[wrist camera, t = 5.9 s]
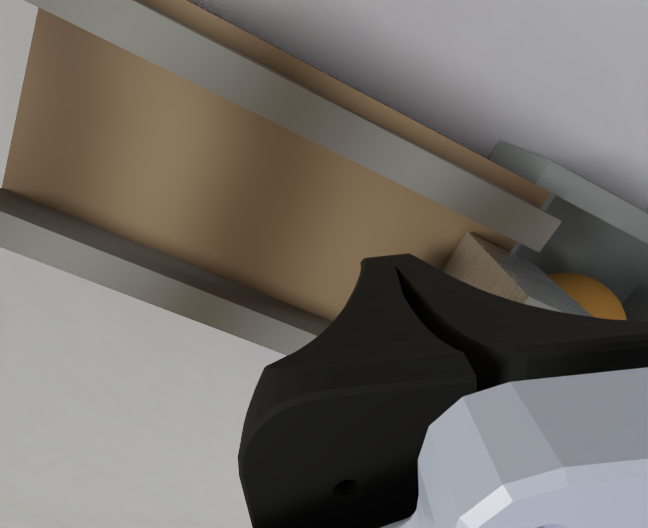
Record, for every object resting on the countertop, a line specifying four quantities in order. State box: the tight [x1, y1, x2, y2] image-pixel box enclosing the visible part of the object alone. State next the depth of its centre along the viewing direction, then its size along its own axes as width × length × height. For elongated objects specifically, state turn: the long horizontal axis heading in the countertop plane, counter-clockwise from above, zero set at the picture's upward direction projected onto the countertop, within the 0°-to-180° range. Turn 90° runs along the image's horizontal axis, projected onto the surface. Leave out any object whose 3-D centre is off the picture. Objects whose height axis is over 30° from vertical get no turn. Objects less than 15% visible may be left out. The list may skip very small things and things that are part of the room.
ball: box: [547, 273, 627, 320], centre depth 18 cm, size 4×4×4 cm
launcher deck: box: [0, 0, 562, 356], centre depth 15 cm, size 14×8×6 cm, turn 64°
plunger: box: [442, 232, 593, 317], centre depth 12 cm, size 2×4×4 cm, turn 154°
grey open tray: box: [488, 141, 648, 322], centre depth 18 cm, size 10×10×4 cm
